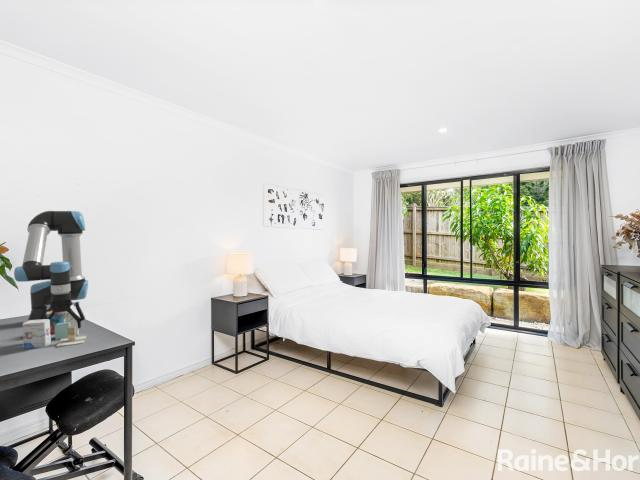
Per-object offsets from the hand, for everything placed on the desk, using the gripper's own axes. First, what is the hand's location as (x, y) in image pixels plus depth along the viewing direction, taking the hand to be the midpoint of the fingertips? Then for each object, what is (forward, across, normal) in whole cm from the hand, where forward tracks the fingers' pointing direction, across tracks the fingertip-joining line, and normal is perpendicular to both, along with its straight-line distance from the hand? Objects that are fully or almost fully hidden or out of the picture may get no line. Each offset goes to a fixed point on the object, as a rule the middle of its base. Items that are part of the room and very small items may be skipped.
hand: (63, 336), depth 157 cm
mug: (0, -3, +13) cm, 14 cm away
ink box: (+1, -8, -9) cm, 12 cm away
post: (0, +5, -10) cm, 11 cm away
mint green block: (0, 0, 0) cm, 0 cm away
